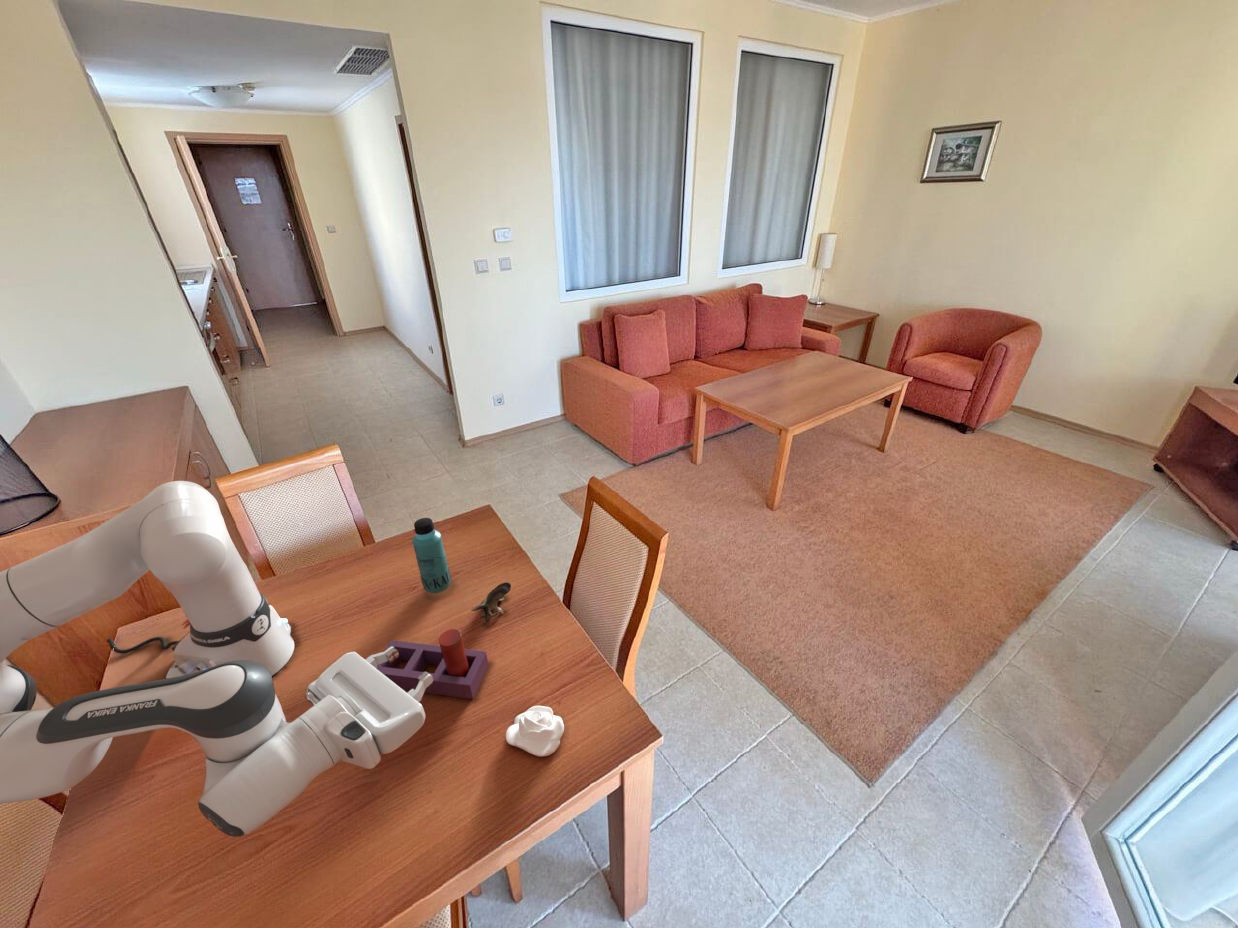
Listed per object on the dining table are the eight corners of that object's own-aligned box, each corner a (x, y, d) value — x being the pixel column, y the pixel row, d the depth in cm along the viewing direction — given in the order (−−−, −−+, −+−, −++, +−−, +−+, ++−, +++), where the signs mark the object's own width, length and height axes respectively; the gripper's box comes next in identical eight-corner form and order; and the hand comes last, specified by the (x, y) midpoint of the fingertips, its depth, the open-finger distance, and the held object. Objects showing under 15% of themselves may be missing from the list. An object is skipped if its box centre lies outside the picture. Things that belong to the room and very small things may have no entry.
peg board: (373, 685, 96) (368, 671, 94) (395, 653, 103) (391, 639, 101) (473, 699, 93) (469, 685, 92) (488, 665, 100) (485, 651, 98)
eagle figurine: (510, 623, 108) (519, 589, 115) (487, 606, 105) (498, 572, 112) (485, 632, 111) (496, 598, 118) (462, 615, 108) (475, 582, 115)
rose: (508, 755, 80) (499, 704, 88) (511, 771, 82) (502, 720, 90) (568, 734, 82) (554, 687, 90) (570, 750, 85) (556, 702, 93)
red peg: (446, 687, 96) (434, 644, 90) (455, 670, 99) (444, 627, 93) (466, 690, 95) (455, 647, 89) (474, 672, 99) (464, 630, 93)
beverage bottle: (425, 583, 121) (407, 516, 112) (453, 577, 123) (438, 511, 113) (424, 601, 116) (405, 532, 106) (453, 595, 118) (437, 527, 108)
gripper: (305, 705, 82) (381, 648, 92) (378, 775, 72) (454, 703, 82) (293, 679, 79) (372, 624, 89) (367, 749, 69) (447, 678, 79)
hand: (412, 662), depth 85 cm, fingers open, 8 cm apart
